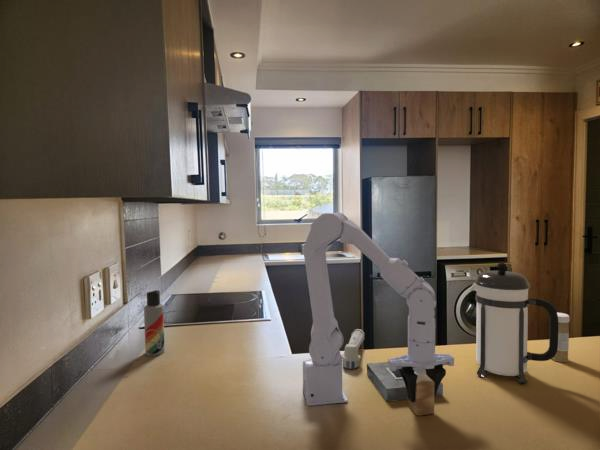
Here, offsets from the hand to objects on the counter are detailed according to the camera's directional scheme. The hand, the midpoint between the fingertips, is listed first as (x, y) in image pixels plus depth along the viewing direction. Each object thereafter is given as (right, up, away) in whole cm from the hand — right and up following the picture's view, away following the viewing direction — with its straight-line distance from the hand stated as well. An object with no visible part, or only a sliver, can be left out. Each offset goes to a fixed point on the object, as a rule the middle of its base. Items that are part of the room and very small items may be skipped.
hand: (421, 398), depth 81 cm
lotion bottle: (-73, -2, +36) cm, 81 cm away
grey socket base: (-1, -2, +12) cm, 12 cm away
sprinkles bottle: (+49, -1, +26) cm, 55 cm away
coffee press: (+29, -2, +18) cm, 34 cm away
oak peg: (0, -2, 0) cm, 2 cm away
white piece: (-10, -2, +33) cm, 34 cm away
